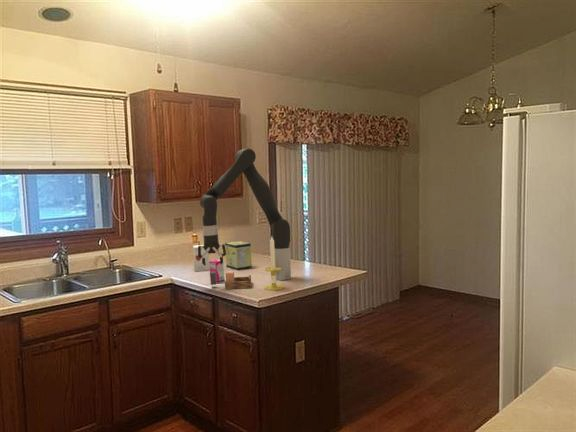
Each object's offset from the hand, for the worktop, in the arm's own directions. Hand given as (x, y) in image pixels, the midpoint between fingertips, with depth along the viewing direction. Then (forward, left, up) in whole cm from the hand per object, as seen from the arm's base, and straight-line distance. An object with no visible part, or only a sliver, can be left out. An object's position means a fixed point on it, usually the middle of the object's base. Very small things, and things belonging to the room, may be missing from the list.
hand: (212, 264), depth 259 cm
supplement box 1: (+13, -50, -12) cm, 53 cm away
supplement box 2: (0, -15, -12) cm, 19 cm away
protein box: (-10, -51, -12) cm, 54 cm away
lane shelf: (-13, 0, -12) cm, 17 cm away
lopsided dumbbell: (-5, 0, -10) cm, 11 cm away
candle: (-31, +8, -12) cm, 35 cm away
